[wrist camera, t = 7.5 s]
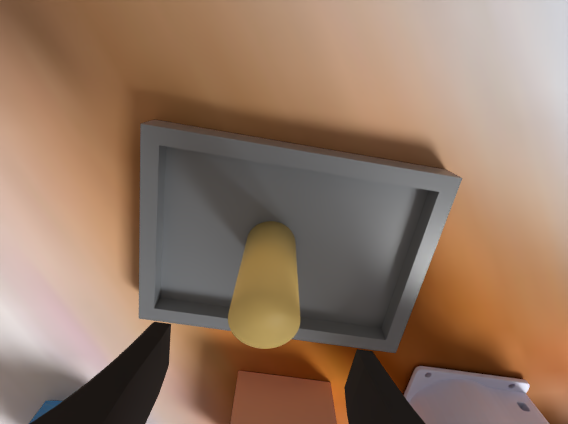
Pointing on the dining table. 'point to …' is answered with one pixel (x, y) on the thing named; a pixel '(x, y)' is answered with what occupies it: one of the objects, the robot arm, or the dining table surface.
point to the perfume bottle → (45, 408)
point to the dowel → (266, 289)
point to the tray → (297, 217)
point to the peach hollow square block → (281, 400)
